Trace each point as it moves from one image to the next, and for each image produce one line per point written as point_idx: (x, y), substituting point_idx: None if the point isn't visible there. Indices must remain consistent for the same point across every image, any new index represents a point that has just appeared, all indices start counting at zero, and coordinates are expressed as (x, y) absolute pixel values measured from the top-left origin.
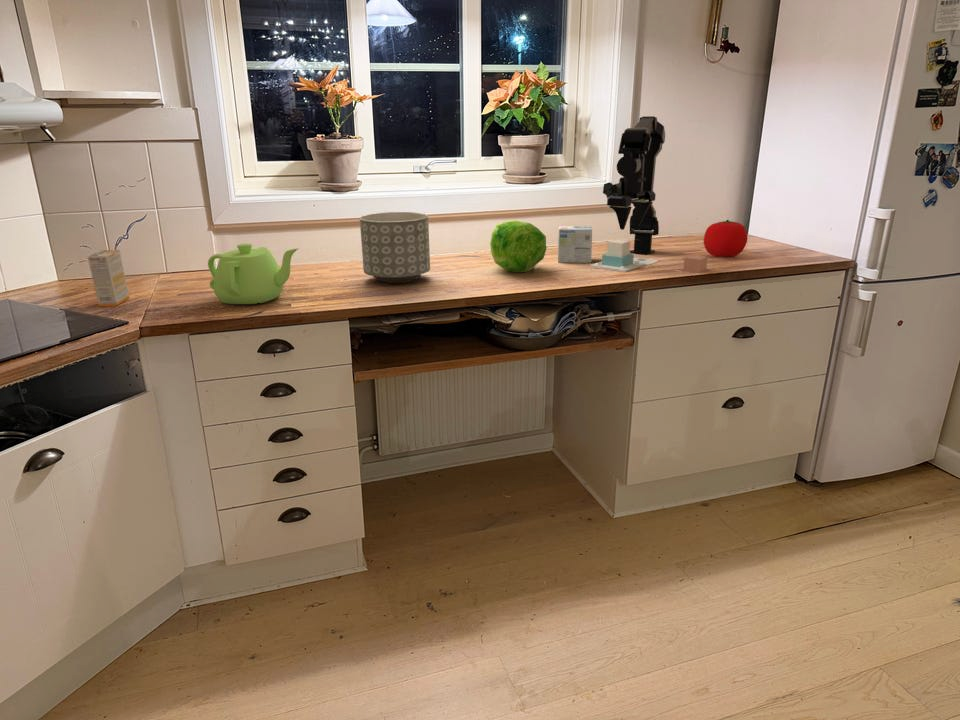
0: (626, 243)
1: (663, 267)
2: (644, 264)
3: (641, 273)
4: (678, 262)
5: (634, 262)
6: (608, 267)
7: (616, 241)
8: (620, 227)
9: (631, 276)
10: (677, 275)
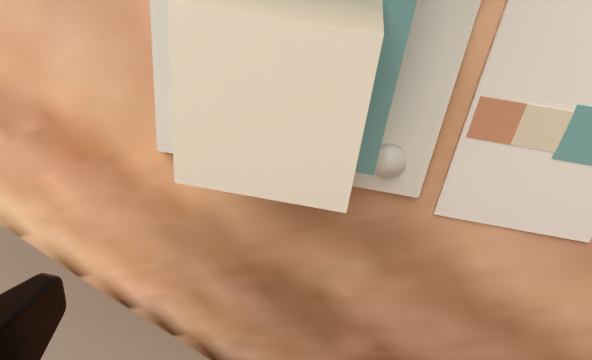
0: (267, 191)
1: (402, 287)
2: (442, 186)
3: (193, 225)
4: (582, 329)
5: (419, 135)
6: (156, 22)
7: (250, 93)
8: (20, 292)
9: (96, 200)
10: (252, 355)
